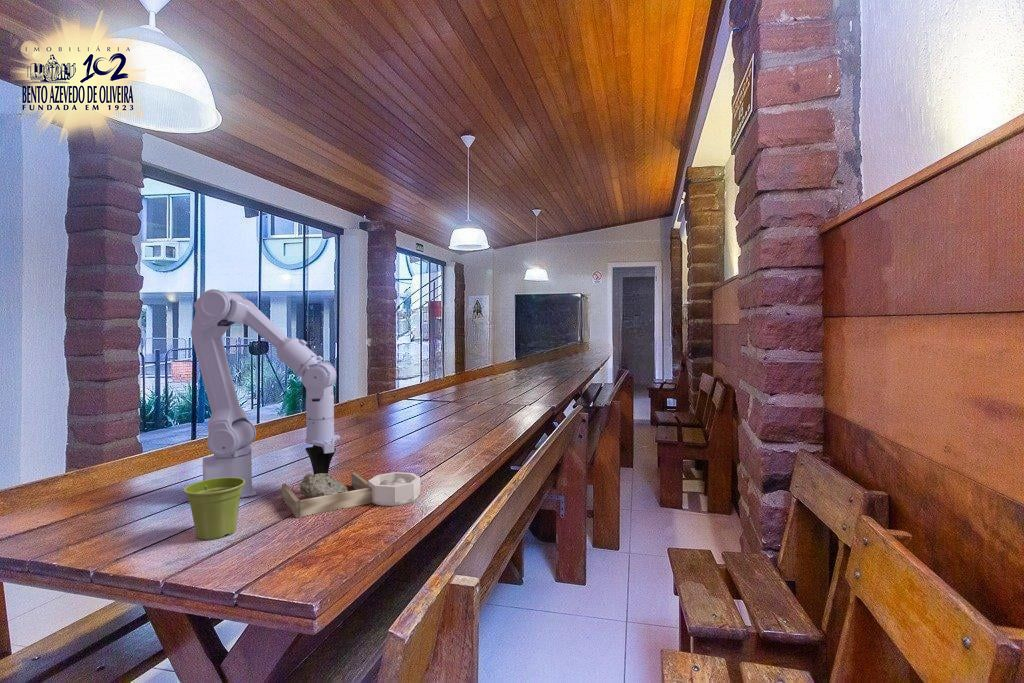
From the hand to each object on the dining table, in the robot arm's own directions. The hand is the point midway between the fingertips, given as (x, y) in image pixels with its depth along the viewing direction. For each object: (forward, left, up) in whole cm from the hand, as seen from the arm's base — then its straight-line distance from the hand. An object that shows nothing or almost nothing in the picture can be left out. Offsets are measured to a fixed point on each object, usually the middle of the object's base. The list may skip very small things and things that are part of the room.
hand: (320, 479), depth 112 cm
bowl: (+12, -12, -3) cm, 18 cm away
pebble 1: (+10, -12, -1) cm, 16 cm away
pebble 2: (+11, -14, -1) cm, 18 cm away
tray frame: (0, -5, -3) cm, 6 cm away
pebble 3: (+13, -12, -1) cm, 18 cm away
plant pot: (-21, -12, -3) cm, 25 cm away
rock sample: (+1, -5, -3) cm, 6 cm away
